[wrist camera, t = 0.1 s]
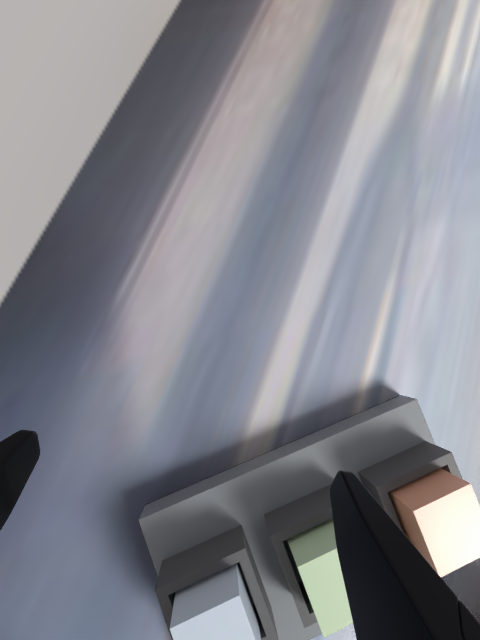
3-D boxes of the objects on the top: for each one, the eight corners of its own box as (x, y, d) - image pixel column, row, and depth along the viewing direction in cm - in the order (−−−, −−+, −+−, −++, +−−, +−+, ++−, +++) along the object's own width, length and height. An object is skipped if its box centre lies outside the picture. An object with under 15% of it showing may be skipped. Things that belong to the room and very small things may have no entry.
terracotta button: (457, 520, 21) (497, 548, 18) (407, 544, 20) (439, 577, 18) (434, 464, 21) (470, 483, 18) (384, 487, 21) (413, 511, 18)
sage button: (361, 567, 20) (387, 605, 17) (307, 594, 20) (323, 637, 17) (339, 509, 20) (360, 536, 17) (285, 534, 20) (297, 567, 17)
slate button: (257, 618, 19) (265, 668, 16) (198, 648, 19) (195, 704, 16) (235, 557, 20) (239, 595, 17) (176, 585, 19) (169, 628, 16)
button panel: (457, 535, 24) (512, 577, 20) (200, 665, 22) (196, 746, 17) (400, 395, 25) (441, 405, 21) (144, 505, 23) (127, 543, 18)
